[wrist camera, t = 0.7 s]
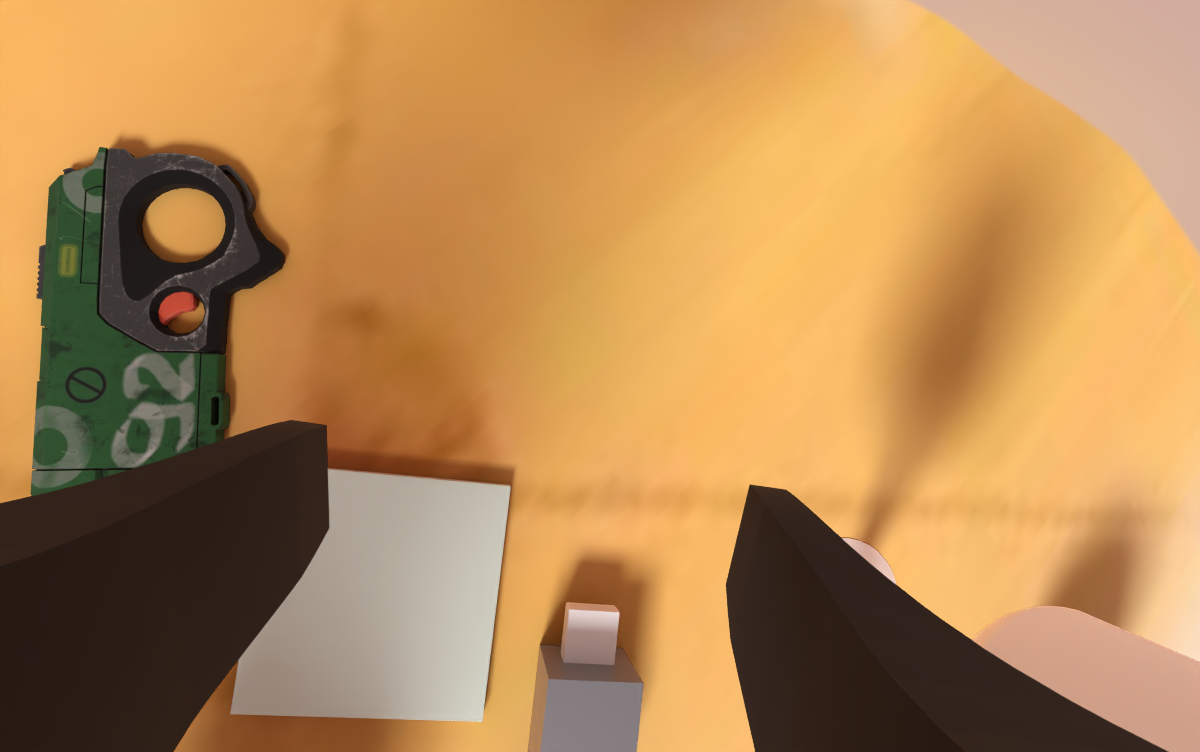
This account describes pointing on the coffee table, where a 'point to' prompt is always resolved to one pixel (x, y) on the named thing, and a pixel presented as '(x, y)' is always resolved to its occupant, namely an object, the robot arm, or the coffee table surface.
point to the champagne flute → (1096, 667)
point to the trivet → (387, 606)
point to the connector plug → (586, 687)
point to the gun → (134, 319)
